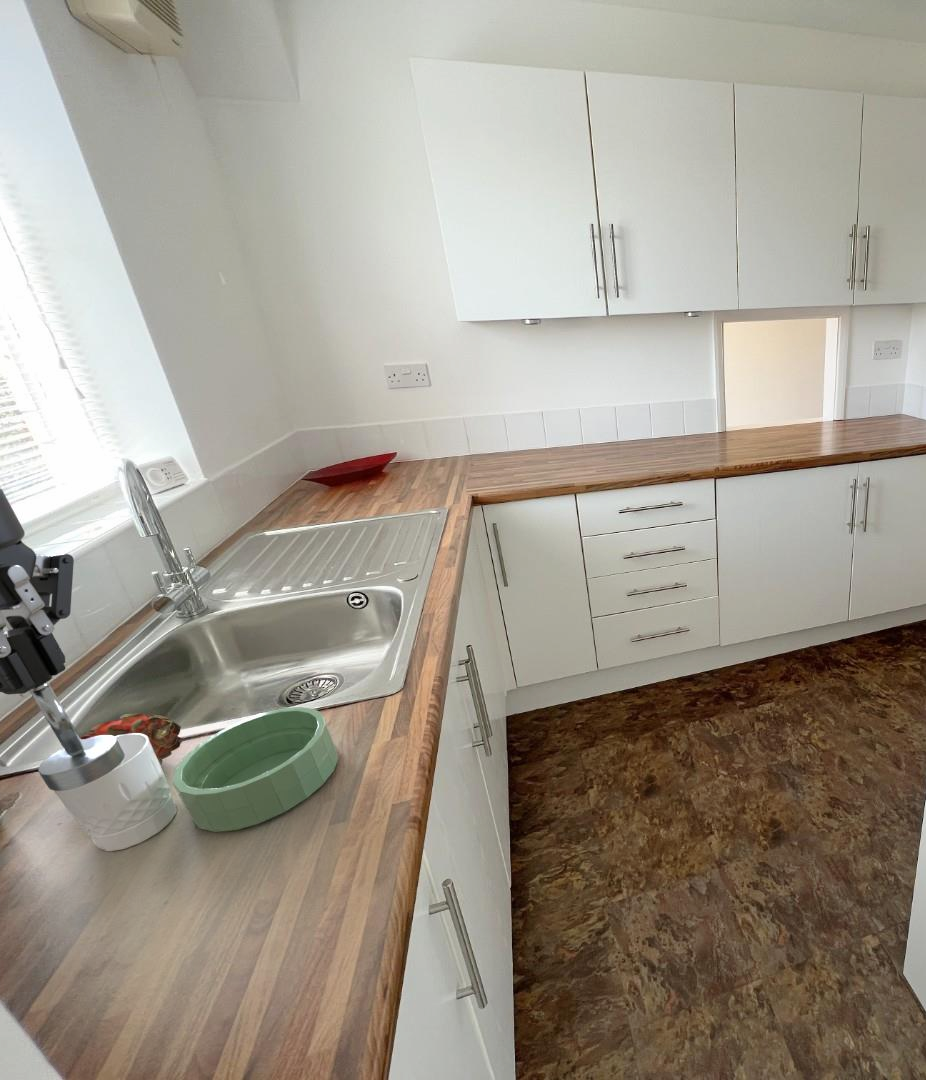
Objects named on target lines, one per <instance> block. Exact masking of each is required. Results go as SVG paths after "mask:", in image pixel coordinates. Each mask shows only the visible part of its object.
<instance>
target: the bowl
mask: <svg viewBox="0 0 926 1080" xmlns="http://www.w3.org/2000/svg"><path fill="white" fill-rule="evenodd" d="M338 753H339V752H338V750H337V747H336V744H335V741H334V738H333V735H332V734H331V731H330V728H329V726H328V723H327V721H326V717H325V715H324V714H323V713H321V712H320V711H319V710H317V709H315V708H309V707H303V706H296V707H295V706H294V707H282V708H277V709H275V710H273V709H272V710H269V711H265V712H261V713H258V714H256V715H253V716H251V717H248V718H244V719H242V720H239V721H237V722H235V723H233V724H232V725H229V726H227V727H225V728H223V729H221V730H220V731H218V732H216V733H215V734H213V735H211V736H210V737H208V738H207V739H205V740H204V741H202V742H201V743H199V744H198V745H196V747H194V748H193V749H192V750H191V751H190V752H189V753H187V755H185V756H184V757H183V758H182V759H181V760H180V762H179V764H178V765H177V767H176V768H175V769H174V771H173V777H172V786H173V788H174V790H175V791H176V793H177V795H178V797H179V799H180V801H181V803H182V804H183V807H184V809H185V811H186V812H187V814H188V816H189V818H190V820H191V821H192V822H193V824H194V825H195V826H196V827H197V828H198V829H201V830H205V831H209V832H212V833H216V832H217V833H218V832H228V831H229V832H230V831H238V830H240V829H241V830H242V829H244V828H248V827H252V826H256V825H259V824H261V823H264V822H266V821H268V820H271V819H273V818H275V817H277V816H279V815H282V814H283V813H285V812H287V811H289V810H290V809H292V808H294V807H295V806H297V805H299V804H300V803H301V802H303V801H305V800H307V799H308V798H309V797H311V795H312V794H314V793H315V792H316V791H317V790H318V789H320V787H322V786H323V785H324V784H325V783H326V781H327V780H328V779H329V778H330V777H331V775H332V773H333V772H334V771H335V769H336V765H337V763H338V760H339V754H338Z"/></svg>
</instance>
